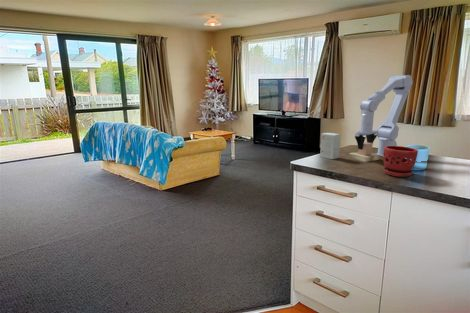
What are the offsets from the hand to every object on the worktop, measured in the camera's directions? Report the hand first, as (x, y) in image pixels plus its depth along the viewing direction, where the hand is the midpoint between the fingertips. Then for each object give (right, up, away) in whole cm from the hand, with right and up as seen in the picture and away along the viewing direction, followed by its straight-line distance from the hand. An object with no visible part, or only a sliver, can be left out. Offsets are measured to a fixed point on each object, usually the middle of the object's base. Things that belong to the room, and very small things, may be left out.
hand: (364, 148), depth 165 cm
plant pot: (+3, -12, -27) cm, 30 cm away
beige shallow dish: (0, -6, +1) cm, 6 cm away
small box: (-18, -5, +4) cm, 19 cm away
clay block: (0, -3, +1) cm, 3 cm away
